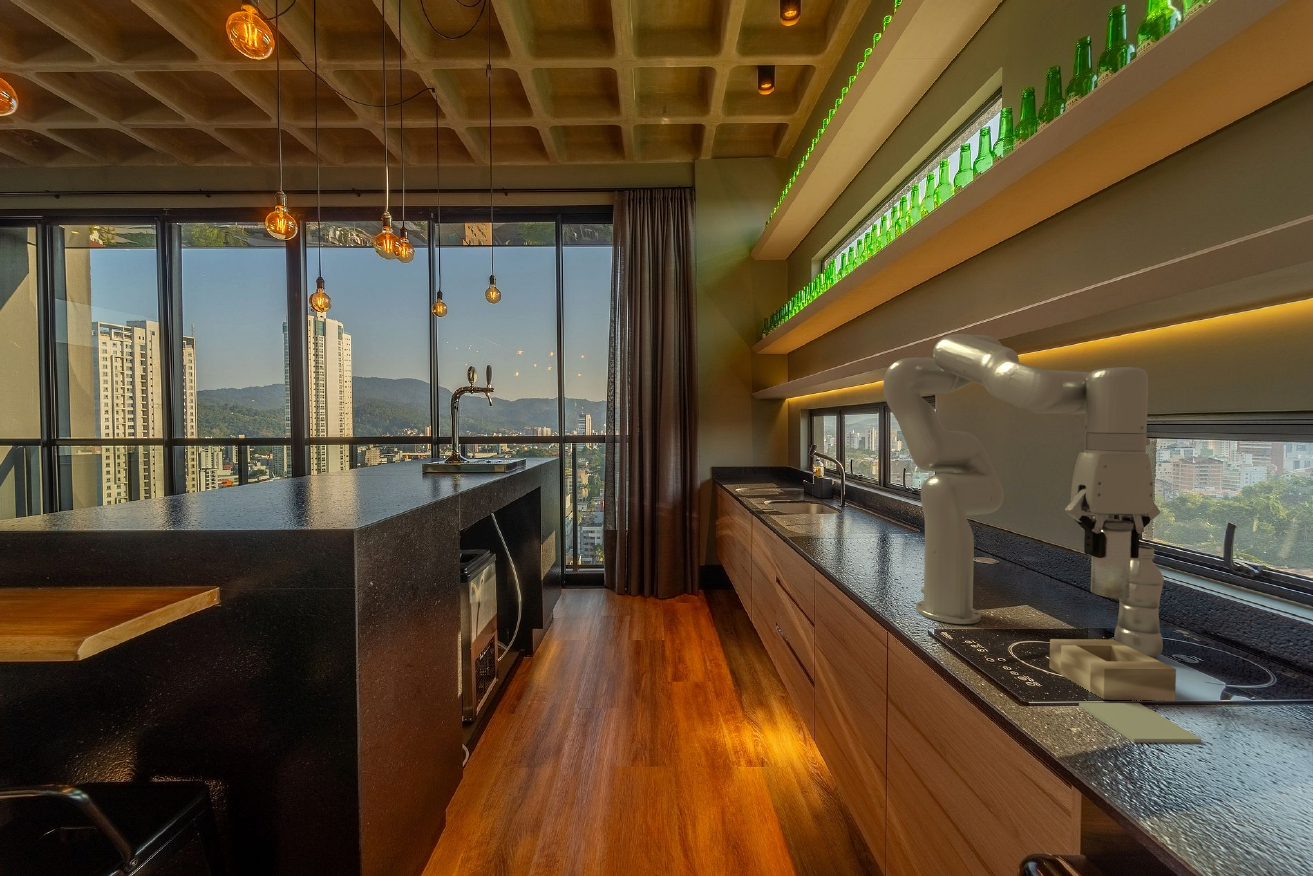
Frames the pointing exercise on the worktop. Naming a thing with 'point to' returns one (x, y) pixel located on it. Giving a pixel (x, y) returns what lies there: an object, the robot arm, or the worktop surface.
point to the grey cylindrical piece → (1113, 561)
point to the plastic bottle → (1142, 606)
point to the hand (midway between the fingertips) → (1110, 554)
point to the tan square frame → (1112, 670)
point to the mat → (1139, 723)
